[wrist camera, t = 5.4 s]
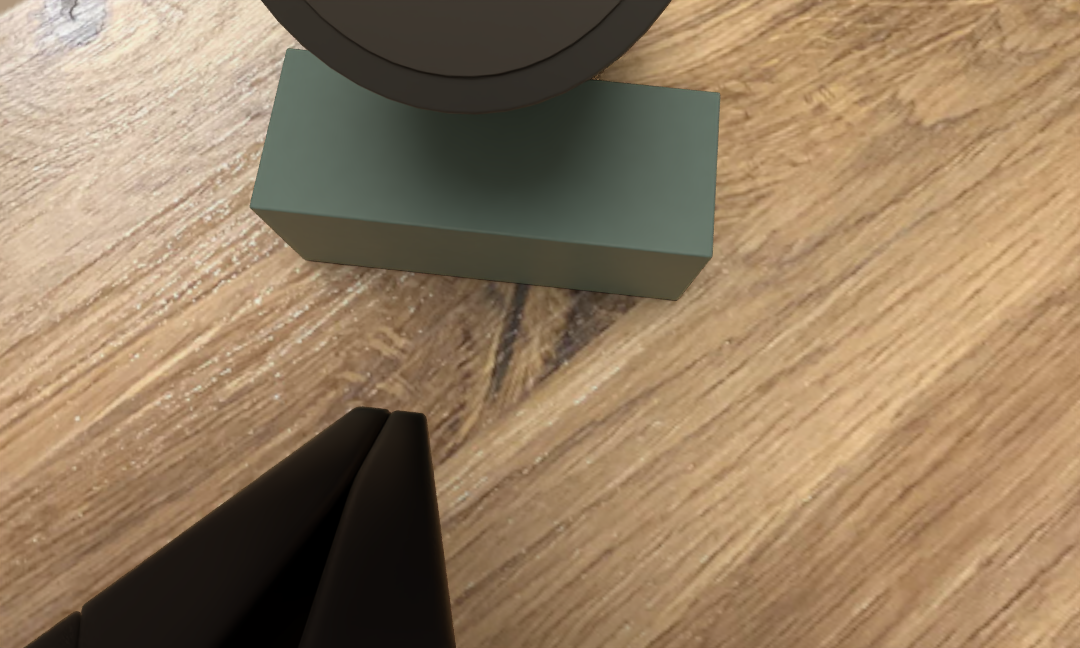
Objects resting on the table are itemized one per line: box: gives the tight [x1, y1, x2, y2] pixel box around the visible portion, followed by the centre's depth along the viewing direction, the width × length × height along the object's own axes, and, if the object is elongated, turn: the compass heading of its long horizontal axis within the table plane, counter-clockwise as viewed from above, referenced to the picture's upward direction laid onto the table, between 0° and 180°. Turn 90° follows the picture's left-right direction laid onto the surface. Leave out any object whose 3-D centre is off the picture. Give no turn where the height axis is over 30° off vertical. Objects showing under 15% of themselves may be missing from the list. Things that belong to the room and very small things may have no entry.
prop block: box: [250, 48, 720, 300], centre depth 16 cm, size 4×10×3 cm, turn 84°
